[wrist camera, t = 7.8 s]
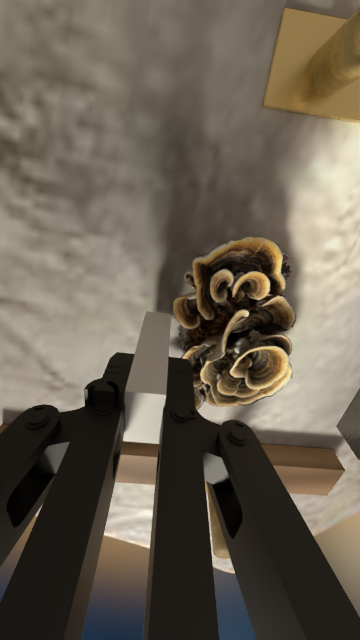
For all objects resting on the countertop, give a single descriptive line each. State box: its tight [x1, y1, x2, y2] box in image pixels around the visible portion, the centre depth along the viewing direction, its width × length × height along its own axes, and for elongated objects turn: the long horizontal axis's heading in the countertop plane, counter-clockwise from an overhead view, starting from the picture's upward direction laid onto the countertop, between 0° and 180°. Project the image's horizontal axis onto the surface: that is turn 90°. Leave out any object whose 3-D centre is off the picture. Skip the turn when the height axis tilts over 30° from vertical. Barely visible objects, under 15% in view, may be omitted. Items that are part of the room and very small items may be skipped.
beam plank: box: [0, 424, 345, 558], centre depth 20 cm, size 4×30×7 cm, turn 83°
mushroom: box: [173, 236, 296, 410], centre depth 15 cm, size 12×8×4 cm, turn 168°
